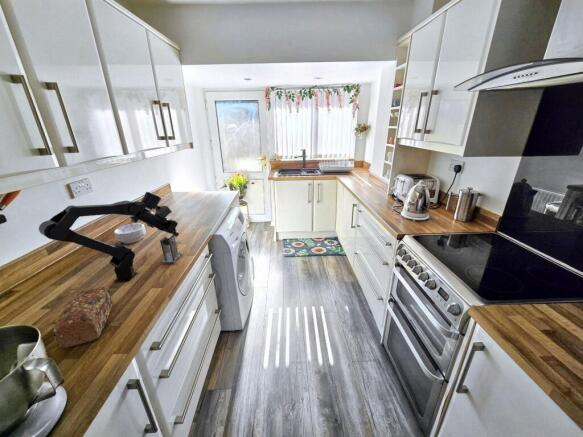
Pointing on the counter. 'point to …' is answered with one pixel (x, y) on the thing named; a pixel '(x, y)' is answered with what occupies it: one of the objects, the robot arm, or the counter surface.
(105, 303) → the bread
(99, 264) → the counter surface
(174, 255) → the bracket
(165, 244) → the ball knob lever
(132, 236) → the paper bowls
